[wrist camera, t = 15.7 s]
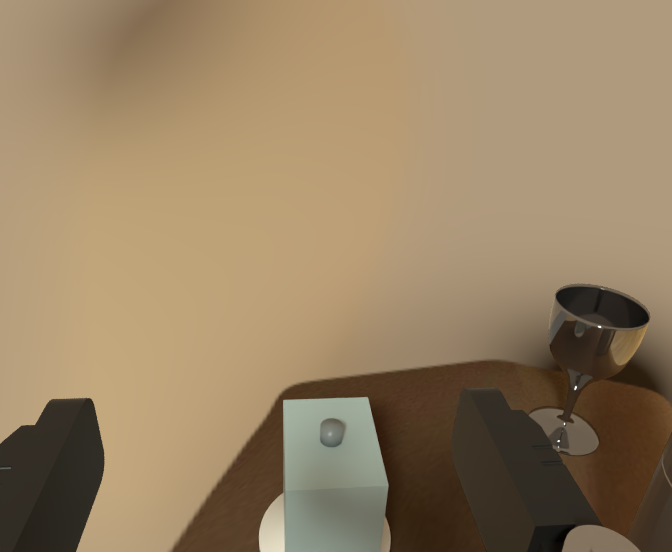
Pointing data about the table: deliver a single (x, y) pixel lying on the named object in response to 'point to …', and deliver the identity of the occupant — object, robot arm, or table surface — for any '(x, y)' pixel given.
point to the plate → (274, 529)
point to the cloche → (332, 476)
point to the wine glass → (588, 354)
